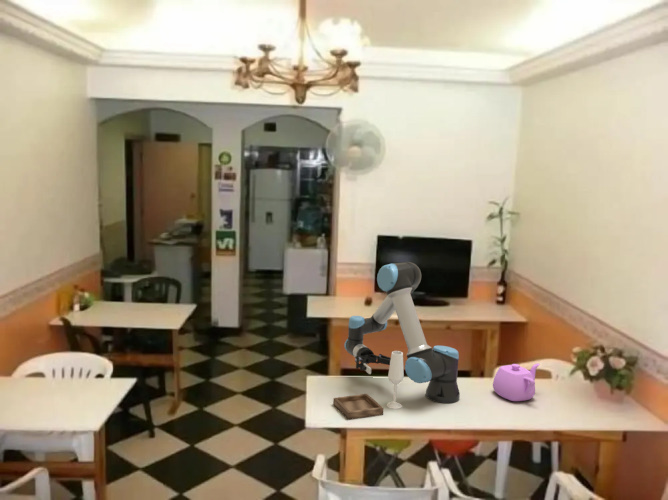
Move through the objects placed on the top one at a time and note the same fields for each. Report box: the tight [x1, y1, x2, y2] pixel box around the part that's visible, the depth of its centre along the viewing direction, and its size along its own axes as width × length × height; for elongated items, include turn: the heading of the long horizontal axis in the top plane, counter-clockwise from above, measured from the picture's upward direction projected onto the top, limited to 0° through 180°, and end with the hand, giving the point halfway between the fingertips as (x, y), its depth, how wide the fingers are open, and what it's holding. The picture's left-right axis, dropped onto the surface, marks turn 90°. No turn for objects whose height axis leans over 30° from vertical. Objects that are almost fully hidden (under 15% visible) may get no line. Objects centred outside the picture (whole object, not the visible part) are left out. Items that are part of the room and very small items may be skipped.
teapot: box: [492, 363, 540, 402], centre depth 281 cm, size 23×21×15 cm
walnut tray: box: [332, 393, 384, 421], centre depth 261 cm, size 16×16×3 cm
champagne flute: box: [386, 350, 405, 410], centre depth 265 cm, size 7×7×24 cm
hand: (384, 369), depth 274 cm, fingers open, 13 cm apart
